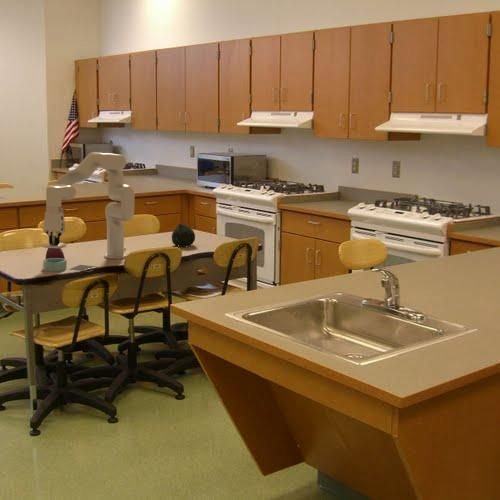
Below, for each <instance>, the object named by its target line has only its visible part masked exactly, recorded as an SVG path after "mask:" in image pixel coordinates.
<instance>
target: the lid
mask: <svg viewBox="0 0 500 500" xmlns="http://www.w3.org/2000/svg"><path fill="white" fill-rule="evenodd" d="M55 238H56V234H53V235H52V244H51V245H50V244H49V242H46V243H43V244H42V245H41V246H42V248H45V249H48V248H61V249H63V248H66V247H67V244H66V243H63V242H60V243H59V244H58V245H55Z"/></svg>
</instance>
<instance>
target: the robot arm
mask: <svg viewBox="0 0 500 500" xmlns="http://www.w3.org/2000/svg"><path fill="white" fill-rule="evenodd" d="M126 166H127V160H126V157H125V156H124V155H123V154H117V153H109V152H105V153H103V152H96V151H95V152H94V151H93V152H89V153H88V154H87V155H86V156H85V157H84V159H83V160H82V161H81V162H80V163H79V164H78V165H77V166H76V167H75V168H74V169H71V170H70V171H68V172H67V173H65V174H63V175H61V176H60V177H59V178H58V179H56V181H55V182H54V183H53V184H52V185H48V186H46V187H45V188H46V189H45V191H46V192H45V194H46V195H45V197H46V199H45V200H46V202H45V204H46V207H45V208H46V211H45V212H44V219H43V229H42V232H43V233H46V235H47V237H48V243H49V244H50V245H51V244H52V235H54V234H53V233H54V232H55V235H56V238H55V245H58V244H59V243H61V242H60V237H61V236H62V235H64V234H66V222H65V216H64V212H63V211H64V207H63V206H62V200H72V199H74V198H75V197H76V196H77V189H76V188H75V187H74V186H72V185H75V184H77V183H82V182H85V181H87V180H89V178H91V176H93V174H94V172H95V171H96V170H97V169H102V170H105V172H106V173H107V181H108V182H107V193H108V194H107V195H108V197H109V199H110V200H113V201H114V202H109V203H107V204H106V206H105V207H104V208H105V209H104V211H105V212H104V214H105V218H106V219H105V220H106V253H105V254H104V258H106V259H110V260H117V259H118V260H121V259H125V258H126V257H125V256H126V255H127V254H126V253H125V252H126V250H127V248H126V247H125V238H124V237H125V227H124V223H123V222H129V221H131V220H132V219H133V217H134V215H135V190H134V189H133V187H132V186H130V185H128V184H124V183H125V182H124V172H123V169H125V167H126ZM115 201H117V202H115ZM120 258H121V259H120Z"/></svg>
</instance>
